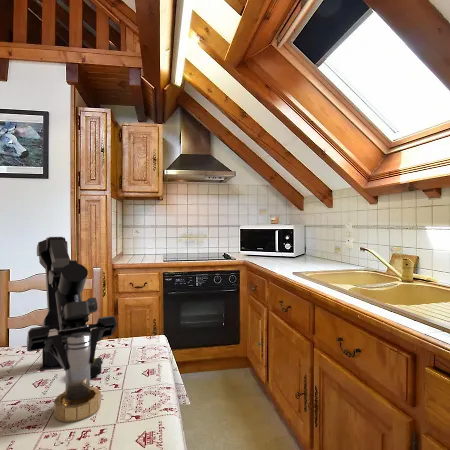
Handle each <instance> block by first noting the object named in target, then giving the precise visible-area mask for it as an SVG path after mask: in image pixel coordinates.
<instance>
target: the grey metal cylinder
mask: <svg viewBox="0 0 450 450" xmlns="http://www.w3.org/2000/svg"><path fill="white" fill-rule="evenodd" d="M65 347H66V360H67V371H65V387H64V388H65V390H64V392H65V398H66V399H67V400H79V399H82V398H85V397H86V396H88V395H89V394H90V387H91V377H90V349H91V334H90V333H87V332H79V333H73V334H70V335H68V336H67V337H66V346H65Z"/></svg>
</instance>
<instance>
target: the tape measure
mask: <svg viewBox="0 0 450 450" xmlns="http://www.w3.org/2000/svg"><path fill="white" fill-rule="evenodd" d="M103 364H104V360H103V359H102V357H96V358H95V357H94V363H93V364H92V365H91V363H90V378H92V377H95V376H99V375H100V374H101V373H102V365H103Z"/></svg>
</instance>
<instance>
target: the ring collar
mask: <svg viewBox="0 0 450 450" xmlns="http://www.w3.org/2000/svg"><path fill="white" fill-rule="evenodd" d="M101 397H102V391H100V389H99V388H97V387H93V386H90V394H89V395H88V396H86V397H85V398H82V399H79V400H67V399H66V398H65V391H63V392H62V393H60V394H58V395H57V396H56V398H55V399H54V401H53V415H54V419H55V420H56V421H58V422H61V423H74V422H79V421H83V420H86V419H87V418H88V419H89V418H90V417H92V416H93V415H95V414H96V413H98V411H99V410H100V408H101V404H102V398H101Z"/></svg>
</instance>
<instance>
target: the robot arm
mask: <svg viewBox="0 0 450 450" xmlns="http://www.w3.org/2000/svg"><path fill="white" fill-rule="evenodd" d="M68 245H69V244H68V241H67V240H66V238H65V236H64V237H63V236H48V237H46V238H45V239H43V240H41V241H39V242H37V245H36V256H37V257H38V258H39V259H38V260H39V264H40V265H41V266H42V267H43V269H44V270H45V287H46V302H47V303H46V305H47V314H46V316H45V318H44V319H43V322H42V324H41V325H42V326H37V327H35V326H34V327H31V328H30V329H29V330H27V331H28V332H27V336H26V337H27V338H26V351H27V352H29V353H30V352H34V351H35V352H36V351H40V350H41V351H42V354H41V356H42V357H41V358H42V360H41V362H42V364H41V366H39V370H49V369H51V370H52V369H63V371H65V372H66V371H67V360H66V347H65V346H66V337H67V336H68V335H70V334H73V333H79V332H87V333H90V334H91V349H90V363H91V365H92V364H93V363H94V358H95V357H96V350H97V344H98V342H100V341H101V340H102V339H104V338H109V337H112V336H113V335H114V333H115V331H116V328H117V327H118V320H117V318H116V317H115V316H114V315H107V316H102V317H98V319H97V322H96V323H93V324H92V323H91V324H88V325H87V323H88V322H89V316H90V315H91V313H96V312H97V311H98V300H97V297H89V298H88V299H86V300H83V298H82V294H81V293H83V291H84V289H85V286H86V282H87V278H88V274H89V271H88V268H87V267H85V266H84V265H83V264H80V263H78V260H77V259H75V260H72V259H71V258H70V255H69V252H68V251H69V250H68Z"/></svg>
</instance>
